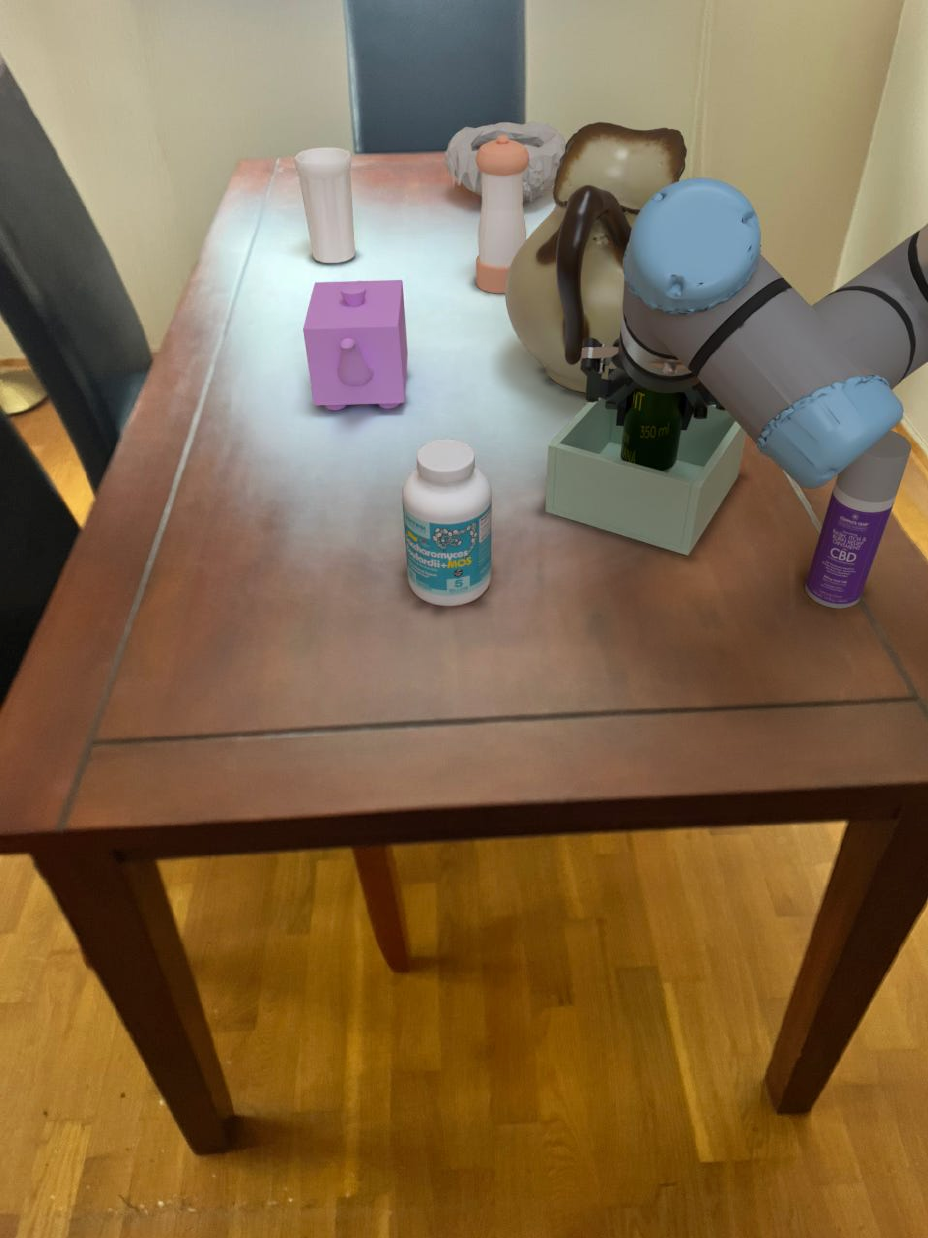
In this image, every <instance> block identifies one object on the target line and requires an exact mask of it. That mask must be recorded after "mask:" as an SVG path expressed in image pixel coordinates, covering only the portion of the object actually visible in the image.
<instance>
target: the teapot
mask: <svg viewBox="0 0 928 1238" xmlns="http://www.w3.org/2000/svg"><path fill="white" fill-rule="evenodd" d="M403 282H404V281H403V280H402V279H392V280H391V279H387V280H385V279H383V280H381V279H380V280H353V281H351V280H349V281H348V280H347V281H346V280H345V281H319V282H318V281H316V282H315V283H314V285H313V289H312V292H311V296H310V299H309V302H308V307H307V311H306V316H305V320H304V324H303V327H302V331H303V332H302V333H303V339H304V346H305V352H306V358H307V367H308V373H309V379H310V387H311V393H312V400H313V405H314V406H324V407H325V409H327V410H330V411H339V410H343V409H344V408H346V407H347V406H351V405H377V406H378V407H380V408H382V409H387V410H389V409H390V410H391V409H394V408H397V407H398V406H400V404H405V399H406V398H405V397H406V386H407V385H406V384H407V369H408V356H409V355H408V353H409V351H408V339H407V337H408V336H407V323H406V310H405V308H406V307H405V297H404V296H405V295H404V283H403Z"/></svg>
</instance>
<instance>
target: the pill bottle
mask: <svg viewBox="0 0 928 1238" xmlns="http://www.w3.org/2000/svg"><path fill="white" fill-rule="evenodd" d="M401 490H402V491H401V499H402V501H401V502H402V513H403V514H402V515H403V527H404V541H405V542H404V543H405V554H406V556H405V557H406V571H407V572H406V573H407V581H408V585H409V586H410V589H411V591H412V592H413V593H414V595H416V596H417V597H418V598H419V599H421V600H423V601H424V602H427V603H429V604H431V605H436V606H443V607H456V606H462V605H465V604H468V603H471V602H473V601H475V600H477V599H479V597H481V596H482V595H483V594H484V593H485V592H486V591H487V589H488V588H489V585H490V583H491V578H492V513H493V512H492V511H493V509H492V508H493V506H492V505H493V501H492V500H493V499H492V497H493V493H492V492H493V491H492V484H491V482H490V480H489V477H488V476H487V475H486V474H485V472H484V471H483V470H482V469H480V468H479V467H478V466H477V465H476V454H475V451H474V449H473V448H472V447H471V445H469V444H468V443H467V442H464V441H461V440H458V439H452V438H441V439H435V440H431V441H429V442H427V443H425V444H423V445H422V446H420V448H419V449H418V450H417V453H416V468H414V469H413V470H412V471H411V472H410V473H409V474H408V476H407V477H406V478H405V480H404V482H403V485H402V489H401Z"/></svg>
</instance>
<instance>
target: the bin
mask: <svg viewBox="0 0 928 1238" xmlns="http://www.w3.org/2000/svg"><path fill="white" fill-rule="evenodd" d="M616 419H617V410H612V409H606V408H605V399H602V398H599V401H597V402H593V403H592V402H588V401H587V403H586V404H585V405H584V406H582V408H581V409H580V410H579V411H578V412H577V413H576V414H575V415H574V417H573V418H572V419H571V420H570V421H568V423H567V424H566V425H565V426H564V427H563V428H562V430H561V431H560V432H559V433H558V434H557V435H556V436H555V437H554V438H553V439H552V440H551V441H550V442H549V444H548V445H547V465H546V466H547V467H546V490H545V512H546V513H549V514H551V515H555V516H557V517H562V518H565V519H568V520H571V521H574V522H578V523H581V524H584V525H588V526H591V527H594V528H596V529H600V530H603V531H607V532H609V533H613V534H617V535H620V536H623V537H626V538H630V539H632V540H635V541H639V542H642V543H645V544H649V545H652V546H655V547H659V548H662V549H664V550H669V551H672V552H674V553H678V554H681V555H684V556H690V554H691V552H692V550H693V549H694V547H695V546H696V544H697V542H698V541H699V539H700V538H701V537H702V535H703V533H704V531H705V530H706V528H707V527H708V525H709V523H710V522H711V520H712V519H713V517H714V516H715V514H716V512H717V511H718V509H719V508H720V506H721V505H722V503H723V501H724V500H725V498H726V496H727V495H728V493H729V492H730V490H731V489H732V487H733V485H734V484H735V482H736V481H737V479H738V477H739V473H740V469H741V464H742V459H743V455H744V449H745V444H746V441H747V435H748V434H747V433H746V432H745V431H744V429H743V428H742V427H741V426H740V425H739V424H738V423H737V422H736V420H735V419H734V418H733V417H732V416H731V415H730V414H729V413H728V411H727V410H725V411H721V410H718V409H716V405H710V406H708V412H707V418H706V419H696V418H693V415H692V418H691V420H690V423H689V425H688V428H687V431H686V430H681V434H680V440H679V446H678V453H677V459H676V463H675V465H674V466H673V467H672V469H671V470H670V471H669V472H668V473H666V472H662V471H659V470H655V469H651V468H648V467H644V466H641V465H637V464H633V463H630V462H626V461H622V460H621V457H620V455H621V445H622V436H623V427H624V426H616Z"/></svg>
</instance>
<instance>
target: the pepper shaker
mask: <svg viewBox="0 0 928 1238" xmlns="http://www.w3.org/2000/svg"><path fill="white" fill-rule="evenodd" d="M529 161H530V158H529V153H528V151H527V149H526V147H525V146H524V145H523V144H521V143H519V142H516V141H514V140H509V138H508V137H507V136H506V135H500V136H498V137H497V139H496V140H493V141H490V142H488V143H486V144H484V145H482V146H481V147H480V148H479V150H478V152H477V154H476V164H477V167H478V169H479V170H480V171H481V172H482V197H481V209H480V214H479V224H478V230H477V243H478V244H477V245H478V255H477V257H476V258H475V274H476V275H475V276H476V278H475V279H476V280H475V281H476V282H475V283H476V287H478V289H480V290H482V291H484V292H486V293H487V292H488V293H492V294H505V283H506V277H507V273H508V270H509V268H510V265H511V263H512V261H513V259H514V257H515V255H516V254H517V252H518V250H519V249H520V247H521V246H522V245H523V243H524V242H525V241H526V240H527V227H526V220H525V218H526V217H525V211H524V202H523V171H524V170H525V169H526V168H527V166H528V164H529Z"/></svg>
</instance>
